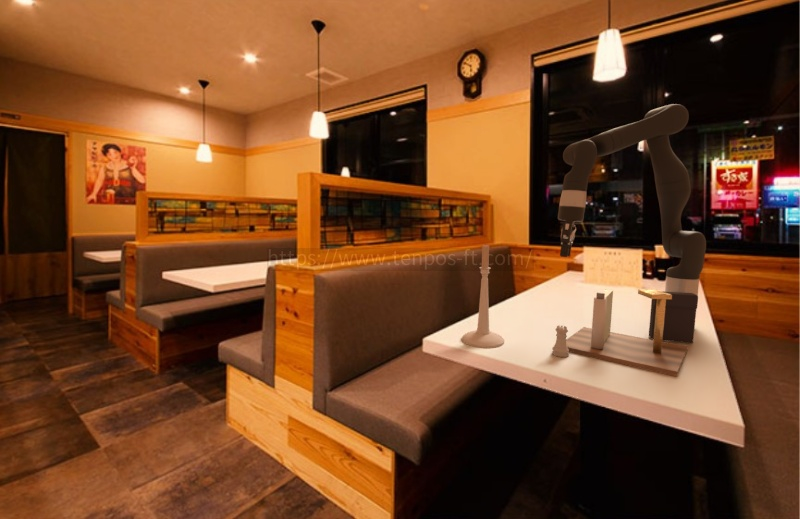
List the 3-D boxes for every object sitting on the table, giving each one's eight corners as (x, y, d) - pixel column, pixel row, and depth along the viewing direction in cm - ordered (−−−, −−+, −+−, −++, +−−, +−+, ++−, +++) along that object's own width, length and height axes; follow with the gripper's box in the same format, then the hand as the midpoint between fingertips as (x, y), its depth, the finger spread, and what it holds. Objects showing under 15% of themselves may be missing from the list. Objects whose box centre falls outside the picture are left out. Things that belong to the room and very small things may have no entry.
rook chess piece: (567, 358, 102) (569, 330, 101) (550, 355, 105) (551, 327, 104) (570, 353, 106) (571, 326, 105) (553, 350, 108) (554, 323, 107)
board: (583, 330, 127) (583, 327, 127) (687, 350, 109) (687, 346, 109) (558, 349, 110) (558, 345, 110) (676, 376, 91) (677, 371, 91)
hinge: (602, 349, 105) (606, 294, 103) (589, 347, 107) (593, 293, 105) (612, 333, 119) (615, 285, 117) (600, 332, 121) (604, 284, 119)
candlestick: (456, 343, 114) (458, 244, 111) (469, 332, 126) (471, 241, 122) (498, 350, 108) (502, 246, 105) (508, 338, 120) (512, 243, 116)
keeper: (633, 348, 110) (638, 289, 108) (651, 348, 110) (656, 289, 108) (647, 357, 103) (652, 294, 101) (666, 358, 103) (672, 294, 101)
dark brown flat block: (688, 339, 118) (692, 292, 117) (693, 344, 114) (698, 295, 113) (647, 335, 122) (651, 290, 120) (651, 340, 118) (655, 292, 116)
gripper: (583, 204, 112) (575, 258, 114) (586, 208, 125) (579, 257, 126) (556, 203, 116) (549, 255, 117) (561, 206, 128) (555, 254, 130)
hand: (564, 256), depth 122 cm, fingers open, 8 cm apart
